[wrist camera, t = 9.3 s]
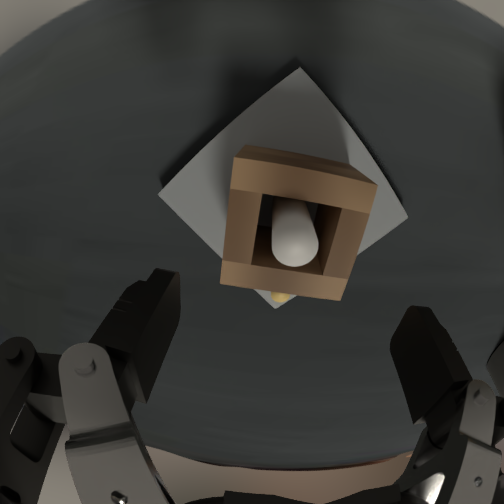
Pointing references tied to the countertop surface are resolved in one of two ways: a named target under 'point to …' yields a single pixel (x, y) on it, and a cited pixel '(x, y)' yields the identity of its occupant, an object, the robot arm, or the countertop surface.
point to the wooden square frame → (325, 224)
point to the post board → (283, 132)
